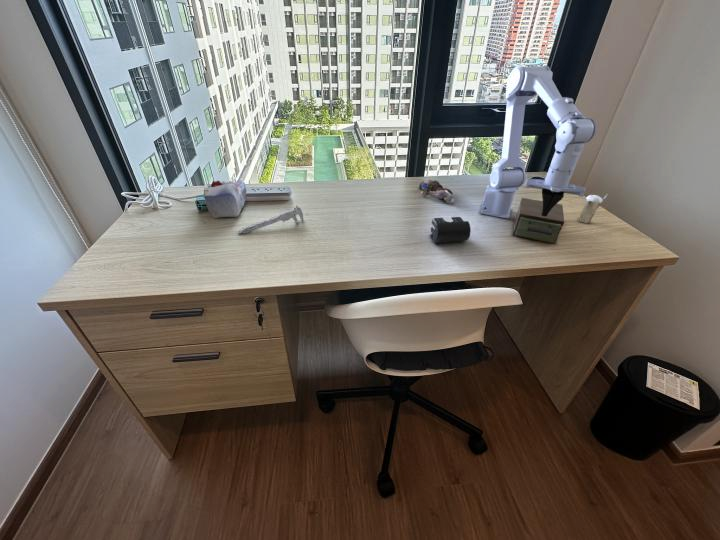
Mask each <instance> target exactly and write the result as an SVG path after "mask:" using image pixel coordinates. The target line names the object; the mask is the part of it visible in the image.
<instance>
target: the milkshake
mask: <svg viewBox="0 0 720 540" xmlns="http://www.w3.org/2000/svg"><path fill="white" fill-rule="evenodd" d="M607 196H608V193H607V194H605V195H604V196H603V197H601V196H599V195H597V194H589V195H587V196H586V197H585V201H584V204H583V207H582V210H581V213H580V215H579V218H578V221H579V222H580V223H583V224H590V223H591V221H592V219H593V217H594V216H595V215H596V213H597V211H598V209H599V208H600V206H601V204H602V203H603V201H604V199H605V198H606V197H607Z"/></svg>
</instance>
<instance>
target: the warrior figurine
mask: <svg viewBox="0 0 720 540" xmlns="http://www.w3.org/2000/svg"><path fill="white" fill-rule="evenodd" d="M422 188H423V189H424V190H425V191H423V190H421V189H422ZM418 189H419V190H421V191H420V194H421V195H422V196H424V197H426V196H428V195H431V196H432V197H434V198H437V199H440V200H441V199H443V200H444V201H446V203H447V204H453V203H454V201H455V197H454V196H453V195H454V192H453V190H451V189H450V188H449V187H447V186H444V187H443V185H442V184H441V183H440V182H439V181H438V180H436V179H434V180H432V179H427V181H426V182H425V181H423V180H420V181H419V183H418Z"/></svg>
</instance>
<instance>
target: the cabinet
mask: <svg viewBox="0 0 720 540" xmlns="http://www.w3.org/2000/svg"><path fill="white" fill-rule="evenodd" d="M542 207H543V200H537V199H532V198H525V197H521V199H520V202H519V205H518V208H517V211H516V214H515V217H514V224H513V229H512V230H513V231H512V236H515V237H519V238H524V239H529V240H535V241H539V242H543V243H548V244H552V245H553V244H556V242H557V240H558V238H559V235H560V233H561V231H562V229H563V226H564V224H565V215H564V206H563V204H561V203H557V204H556V205H555V206H554V207H553V208H552V209H551V210H550V212H549V213H548V215H547V216H541V212H542ZM522 216H523V217H528V218H533V219H539V220H544V221H549V222H555V223H557V224H561V227H560V230H559V232H558V234H557V237H556V239H555V241H554V243H552V242H547V241H542V240H538V239H533V238H528V237H523V236H518V235H515V233H516V230H517V227H518V224H519V221H520V219H521V217H522Z"/></svg>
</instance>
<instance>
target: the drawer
mask: <svg viewBox="0 0 720 540" xmlns="http://www.w3.org/2000/svg"><path fill="white" fill-rule="evenodd" d="M560 227H561V224H557V223H555V222H549V221H541V220H536V219H532V218H528V217H523V216H522V217H521V219H520V221H519V224H518V227H517V230H516V233H515V235H518V236H517V237H519V236H523V237H522V238H524V237H528V238H527V239H529V238H533V239H538V240H542V241H541V242H543V241H547V242H546V243H548V242H552V243H551V244H553V243H554V241H555V239H556V237H557V234H558V232H559V230H560ZM533 239H532V240H533ZM538 240H537V241H538Z"/></svg>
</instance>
